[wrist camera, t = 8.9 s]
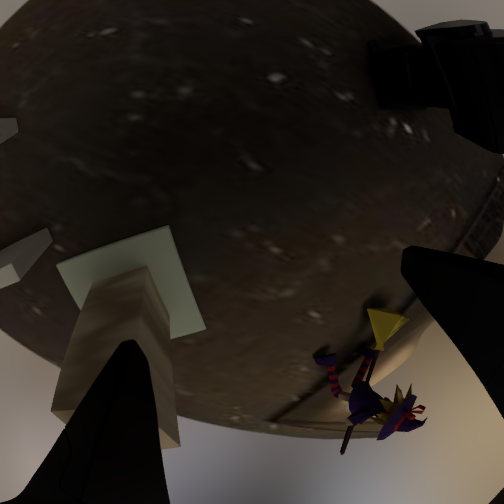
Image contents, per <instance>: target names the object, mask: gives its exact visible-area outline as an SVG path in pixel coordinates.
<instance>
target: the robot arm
mask: <svg viewBox="0 0 504 504" xmlns="http://www.w3.org/2000/svg"><path fill="white" fill-rule="evenodd" d="M415 33H416V35H417V36H418V37H419V38H420V40H421V42H422V43H417V44H411V45H405V46H401V45H397V44H392V43H387V42H382V41H376V40H371V41H369V42H368V47H369V52H370V56H371V61H372V66H373V71H374V77H375V82H376V89H377V95H378V102H379V106H380V108H382V109H410V110H426V109H427V107H439V108H448V109H449V111H450V115H451V118H452V121H453V128H454V132H455V133H457V134H459V135H461V136H463V137H465V138H467V139H468V140H470V141H472V142H474V143H476V144H477V145H479V146H481V147H483V148H485V149H487V150H489V151H491V152H493V153H498V154H504V30H502V29H490V28H489V25H488V23H487V22H485V21H475V20H456V21H449V22H442V23H438V24H435V25H431V26H428V27H425V28H422V29H419V30H416V31H415ZM373 44H374V46H375V47H374V46H373ZM384 102H385V105H384ZM401 274H402V276H403V277H404V278H405V280H406V281H407V283H408V284H409V285H410V287H411V288H412V290H413V291H414V292H415V294H416V295H417V297H418V298H419V300H420V301H421V302H422V304H423V305H424V307H425V308H426V309H427V310H428V312H429V313H430V314H431V315H432V316H433V318H434V319H435V320H436V321H437V322H438V324H439V325H440V326H441V327H442V329H443V330H444V331H445V333H446V334H447V335H448V336H449V338H450V339H451V340H452V342H453V343H454V344H455V346H456V347H457V348H458V350H459V351H460V352H461V354H462V355H463V357H464V358H465V359H466V361H467V362H468V364H469V365H470V366H471V368H472V369H473V371H474V372H475V374H476V375H477V377H478V378H479V379H480V381H481V383H482V384H483V386H485V389H486V391H487V392H488V394H489V395H490V397H491V399H492V400H493V402H494V403H495V405H496V407H497V408H498V410H499V412H500V413H501V415H502V417H503V419H504V265H503V264H498V263H493V262H489V261H485V260H481V259H476V258H472V257H467V256H462V255H458V254H453V253H448V252H443V251H439V250H434V249H429V248H423V247H418V246H410V247H408V248H405V249H404V250H403V253H402V261H401ZM0 504H170V500H169V495H168V490H167V485H166V479H165V474H164V467H163V461H162V453H161V445H160V437H159V428H158V417H157V408H156V402H155V396H154V391H153V386H152V380H151V374H150V368H149V362H148V359H147V357H146V355H145V354H144V352H143V351H142V349H141V348H140V346H139V345H138V343H137V342H136V340H134V339H129V340H125V341H122V342H121V343H120V344H119V346H118V347H117V348H116V350H115V351H114V353H113V354H112V356H111V357H110V358H109V360H108V361H107V363H106V364H105V366H104V367H103V369H102V370H101V372H100V373H99V375H98V376H97V378H96V379H95V381H94V382H93V384H92V385H91V387H90V388H89V390H88V391H87V393H86V394H85V396H84V397H83V399H82V400H81V402H80V404H79V405H78V407H77V408H76V410H75V411H74V413H73V415H72V416H71V418H70V419H69V421H68V423H67V424H66V426H65V429H64V430H63V431H62V433H61V434H60V436H59V437H58V439H57V441H56V442H55V444H54V446H53V447H52V449H51V450H50V452H49V453H48V455H47V456H46V458H45V459H44V461H43V462H42V464H41V465H40V467H39V468H38V469H37V471H36V472H35V474H34V475H33V477H32V478H31V480H30V481H29V483H28V485H27V486H26V487H25V489H24V490H23V491H22V492H21V493H20V494H19V495H18V496H17V497H15V498H13V499H11V500H9V501H5V502H1V503H0ZM489 504H504V488H503V489H502V490H501V491H500V492H499V493H498V494H497V495H496V497H495V498H494V499H493V500H492V501H491V502H490V503H489Z"/></svg>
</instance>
